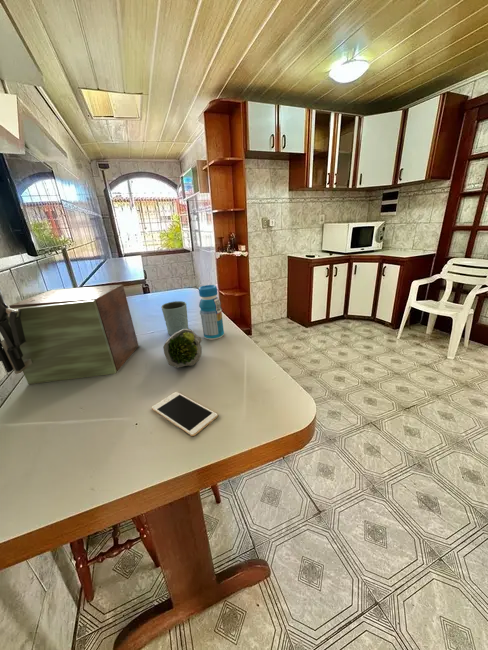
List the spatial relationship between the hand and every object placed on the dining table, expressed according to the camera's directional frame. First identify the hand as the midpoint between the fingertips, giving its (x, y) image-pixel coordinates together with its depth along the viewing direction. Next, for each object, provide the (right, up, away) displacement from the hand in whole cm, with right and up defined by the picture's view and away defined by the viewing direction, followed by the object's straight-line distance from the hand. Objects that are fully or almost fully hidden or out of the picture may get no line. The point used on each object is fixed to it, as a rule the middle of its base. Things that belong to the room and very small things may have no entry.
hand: (16, 369), depth 75 cm
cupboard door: (+10, -5, +7) cm, 14 cm away
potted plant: (+46, 0, +12) cm, 48 cm away
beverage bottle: (+52, +8, +31) cm, 62 cm away
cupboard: (+10, 0, +20) cm, 23 cm away
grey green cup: (+36, +9, +39) cm, 54 cm away
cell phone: (+50, -9, -10) cm, 51 cm away
